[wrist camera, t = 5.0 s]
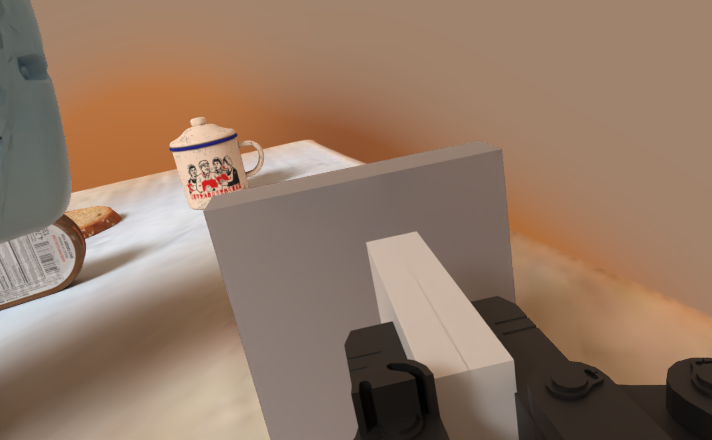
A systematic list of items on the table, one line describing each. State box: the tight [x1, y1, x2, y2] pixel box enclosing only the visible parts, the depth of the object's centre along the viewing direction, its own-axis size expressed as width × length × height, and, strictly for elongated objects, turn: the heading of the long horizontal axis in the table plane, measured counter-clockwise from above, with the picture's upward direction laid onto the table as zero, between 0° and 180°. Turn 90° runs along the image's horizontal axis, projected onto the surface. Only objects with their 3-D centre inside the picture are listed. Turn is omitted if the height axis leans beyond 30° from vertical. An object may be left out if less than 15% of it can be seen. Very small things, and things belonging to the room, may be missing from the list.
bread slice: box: [64, 206, 121, 239], centre depth 64 cm, size 18×18×4 cm
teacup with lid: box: [170, 117, 264, 210], centre depth 68 cm, size 12×9×12 cm
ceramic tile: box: [203, 141, 516, 440], centre depth 19 cm, size 2×10×12 cm, turn 98°
